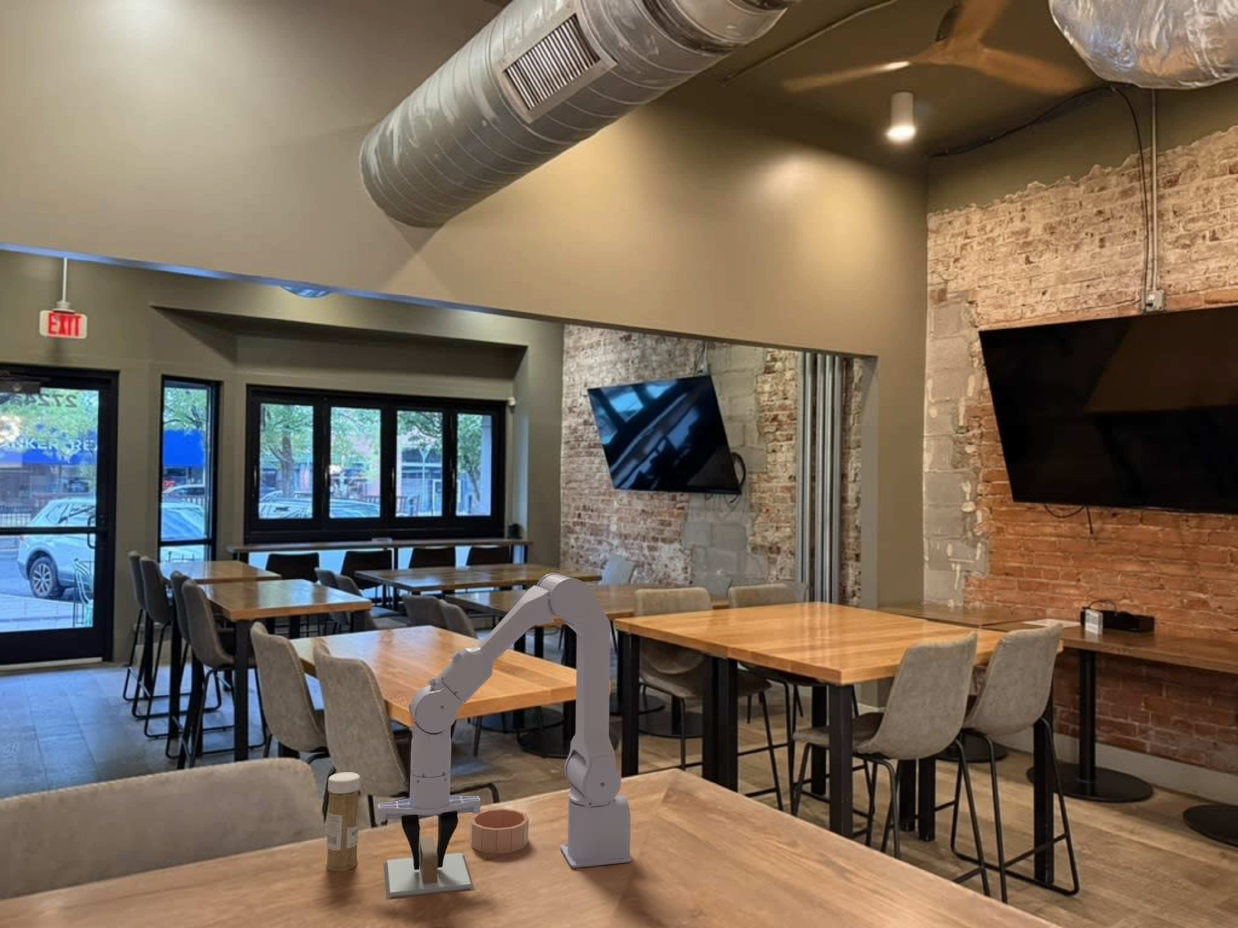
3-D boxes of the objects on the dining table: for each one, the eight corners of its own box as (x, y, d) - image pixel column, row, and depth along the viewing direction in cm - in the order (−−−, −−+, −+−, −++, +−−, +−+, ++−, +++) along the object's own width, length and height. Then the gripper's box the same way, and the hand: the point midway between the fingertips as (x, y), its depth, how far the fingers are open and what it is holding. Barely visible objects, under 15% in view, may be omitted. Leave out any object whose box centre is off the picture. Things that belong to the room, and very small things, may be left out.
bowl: (521, 830, 147) (522, 806, 147) (532, 852, 138) (532, 826, 138) (467, 835, 144) (467, 811, 144) (474, 857, 136) (475, 831, 136)
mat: (464, 857, 136) (464, 854, 136) (474, 891, 124) (474, 889, 124) (383, 865, 132) (383, 862, 132) (386, 901, 121) (386, 898, 121)
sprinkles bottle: (361, 869, 131) (364, 777, 131) (330, 876, 128) (333, 782, 129) (352, 858, 135) (354, 769, 135) (321, 864, 132) (324, 773, 132)
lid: (461, 856, 135) (462, 829, 135) (470, 887, 125) (471, 858, 125) (387, 863, 132) (387, 836, 132) (390, 896, 121) (391, 866, 121)
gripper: (476, 759, 135) (474, 849, 134) (378, 766, 130) (375, 859, 130) (483, 774, 128) (480, 869, 127) (379, 781, 124) (376, 879, 123)
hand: (427, 865), depth 128 cm, fingers open, 3 cm apart
